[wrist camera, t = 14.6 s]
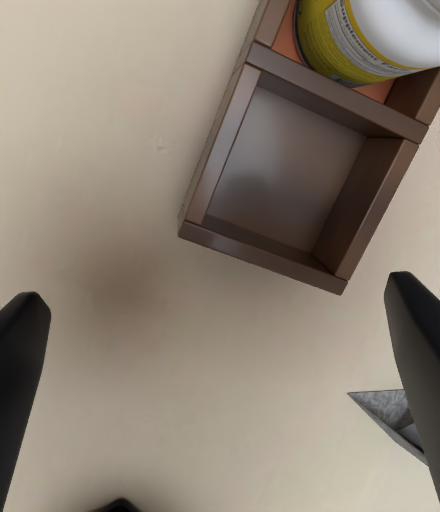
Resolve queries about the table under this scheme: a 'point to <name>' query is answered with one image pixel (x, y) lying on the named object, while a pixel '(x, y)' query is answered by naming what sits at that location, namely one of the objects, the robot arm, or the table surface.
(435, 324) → the robot arm
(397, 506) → the table surface
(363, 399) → the paper boat
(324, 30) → the supplement bottle
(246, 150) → the box
